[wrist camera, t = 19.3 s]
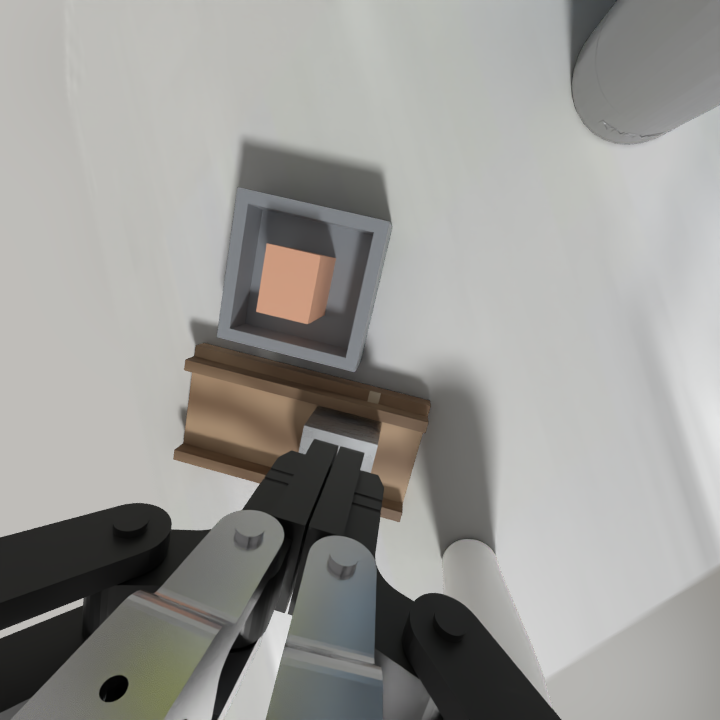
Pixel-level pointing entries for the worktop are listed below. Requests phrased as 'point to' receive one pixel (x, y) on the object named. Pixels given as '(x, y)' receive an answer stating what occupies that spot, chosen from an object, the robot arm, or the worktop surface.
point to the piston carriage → (343, 432)
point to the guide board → (289, 417)
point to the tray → (312, 234)
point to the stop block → (295, 284)
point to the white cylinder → (491, 603)
